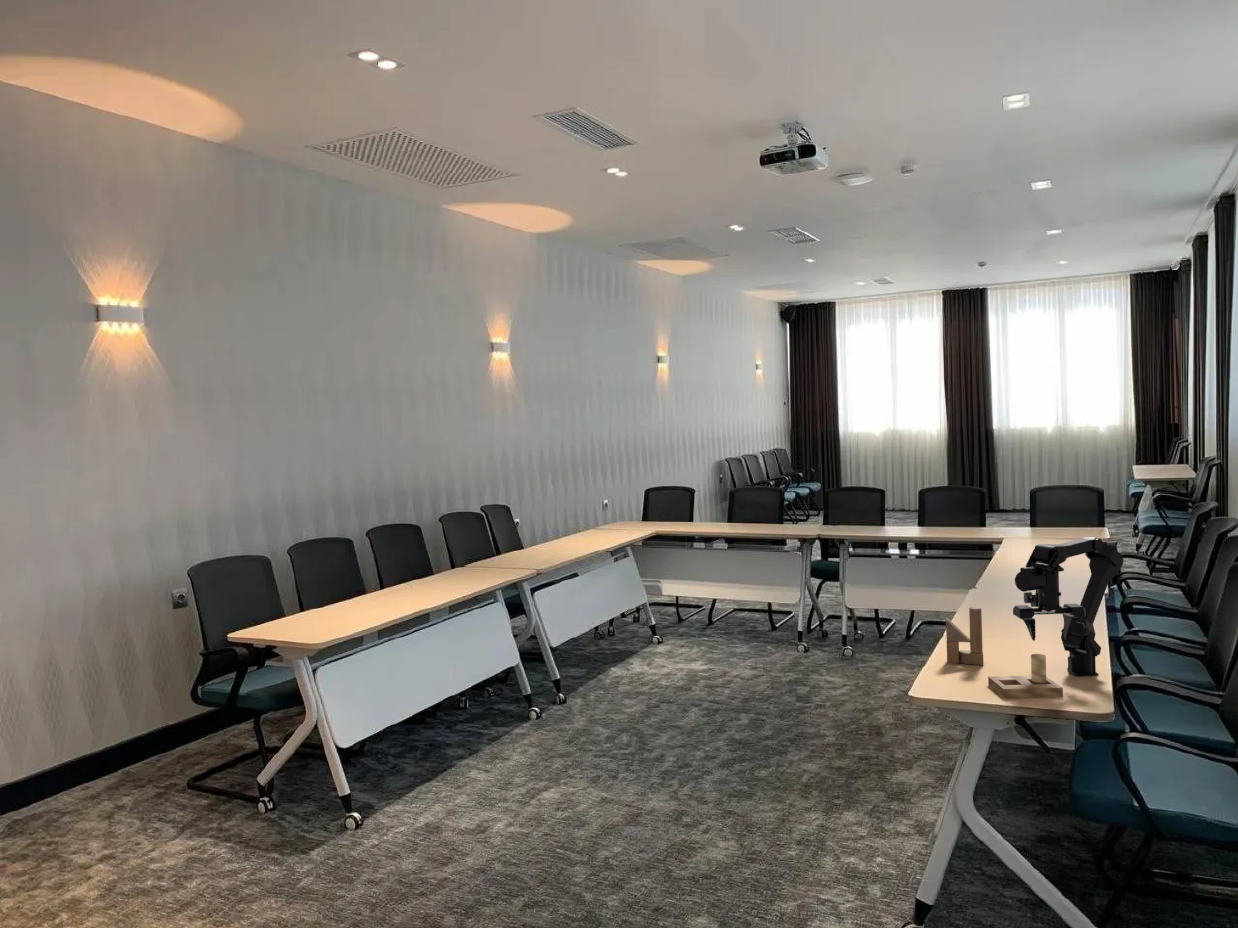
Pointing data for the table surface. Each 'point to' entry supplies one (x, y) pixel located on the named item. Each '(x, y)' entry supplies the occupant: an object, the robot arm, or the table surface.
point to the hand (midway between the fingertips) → (1049, 639)
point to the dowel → (1038, 669)
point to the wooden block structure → (965, 640)
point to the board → (1023, 687)
